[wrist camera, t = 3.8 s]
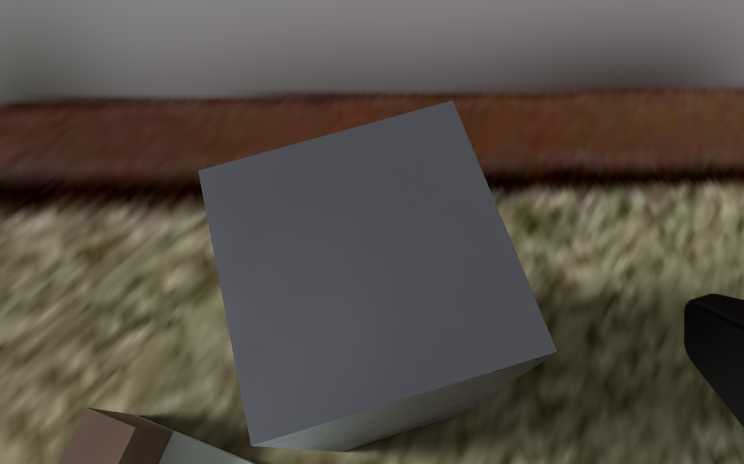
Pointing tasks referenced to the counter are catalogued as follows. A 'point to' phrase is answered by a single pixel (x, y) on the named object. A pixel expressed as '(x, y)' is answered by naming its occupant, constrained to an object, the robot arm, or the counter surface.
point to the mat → (195, 451)
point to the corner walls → (115, 440)
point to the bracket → (368, 283)
